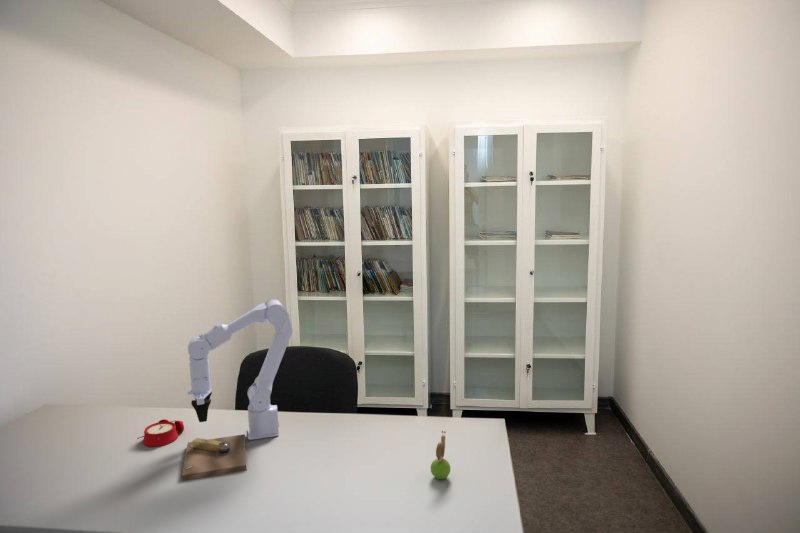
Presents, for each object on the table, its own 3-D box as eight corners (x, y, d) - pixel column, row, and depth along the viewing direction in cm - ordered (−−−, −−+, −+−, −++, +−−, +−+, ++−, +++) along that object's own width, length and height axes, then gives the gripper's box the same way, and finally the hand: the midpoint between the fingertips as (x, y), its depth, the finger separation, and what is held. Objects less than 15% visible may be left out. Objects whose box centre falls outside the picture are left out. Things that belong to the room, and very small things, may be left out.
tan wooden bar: (232, 449, 159) (231, 442, 159) (225, 454, 156) (225, 447, 156) (198, 443, 163) (198, 437, 163) (191, 448, 160) (190, 441, 160)
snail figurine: (453, 472, 148) (453, 431, 146) (447, 484, 142) (447, 442, 140) (434, 469, 150) (434, 429, 148) (428, 481, 144) (428, 439, 142)
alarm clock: (131, 436, 165) (161, 407, 178) (136, 452, 167) (165, 422, 181) (161, 439, 163) (189, 409, 176) (165, 456, 165) (193, 425, 178)
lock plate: (245, 438, 170) (244, 433, 170) (246, 469, 151) (246, 464, 151) (188, 446, 165) (187, 441, 165) (182, 480, 146) (181, 474, 146)
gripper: (188, 370, 170) (191, 410, 172) (184, 386, 156) (187, 429, 158) (211, 367, 172) (214, 407, 174) (209, 383, 158) (213, 426, 160)
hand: (203, 417), depth 166 cm, fingers open, 5 cm apart
